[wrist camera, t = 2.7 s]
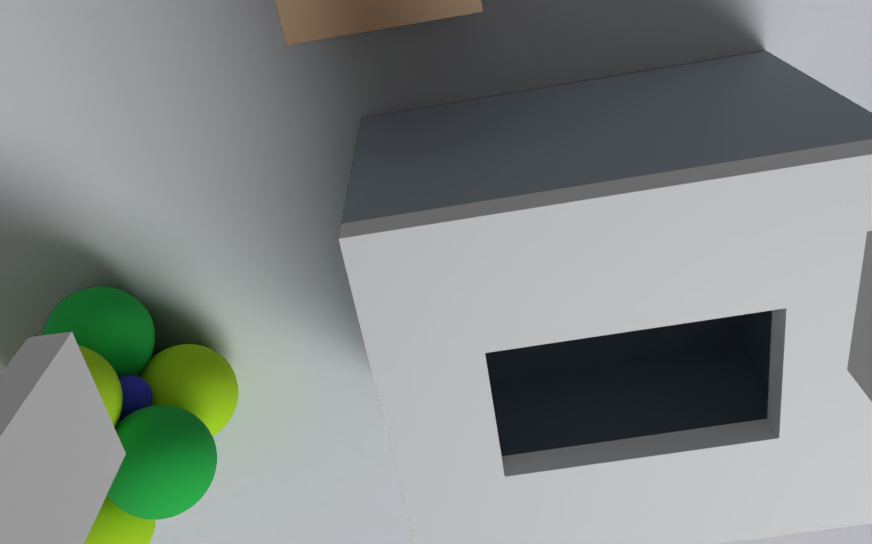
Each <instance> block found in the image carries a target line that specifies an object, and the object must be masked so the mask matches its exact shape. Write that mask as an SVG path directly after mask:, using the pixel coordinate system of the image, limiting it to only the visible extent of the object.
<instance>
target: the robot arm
mask: <svg viewBox="0 0 872 544" xmlns="http://www.w3.org/2000/svg"><path fill="white" fill-rule="evenodd" d="M847 370H848V372H849V373H850V374H851V376H852V377H853V378H854V380H855V381H856V382H857V383H858V385H859V386H860V387H861V389H862V390H863V391H864V393H865V394H866V395H867V396H868V398H869V399H870V400H871V402H872V231H867V237H866V243H865V250H864V257H863V264H862V271H861V277H860V284H859V291H858V298H857V305H856V311H855V318H854V325H853V332H852V339H851V346H850V352H849V359H848V366H847ZM125 455H126V453H125V451H124V448H123V446H122V444H121V442H120V439H119V437H118V435H117V433H116V430H115V428H114V426H113V423H112V421H111V419H110V417H109V414H108V412H107V410H106V408H105V405H104V403H103V401H102V399H101V396H100V394H99V392H98V390H97V387H96V385H95V383H94V380H93V378H92V376H91V374H90V371H89V369H88V367H87V365H86V362H85V360H84V358H83V356H82V353H81V351H80V349H79V347H78V344H77V342H76V340H75V337H74V335H73V333H72V332H66V333H58V334H50V335H42V336H34V337H28V338H27V340H26V341H25V342H24V344H23V345H22V346H21V348H20V349H19V350H18V351H17V353H16V354H15V355H14V357H13V358H12V359H11V361H10V362H9V363H8V365H7V366H6V367H5V369H4V370H3V371H2V372H1V374H0V544H84V542H85V540H86V538H87V536H88V534H89V532H90V530H91V527H92V525H93V523H94V521H95V519H96V517H97V515H98V512H99V510H100V508H101V506H102V504H103V502H104V500H105V497H106V495H107V493H108V491H109V489H110V487H111V485H112V483H113V480H114V478H115V476H116V474H117V472H118V470H119V468H120V465H121V463H122V461H123V459H124V457H125Z"/></svg>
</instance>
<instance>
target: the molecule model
mask: <svg viewBox="0 0 872 544" xmlns="http://www.w3.org/2000/svg"><path fill="white" fill-rule="evenodd" d="M66 332H72V333H73V335H74V337H75V340H76V342H77V344H78V347H79V349H80V351H81V353H82V356H83V358H84V360H85V362H86V365H87V367H88V369H89V371H90V374H91V376H92V378H93V380H94V383H95V385H96V387H97V390H98V392H99V394H100V396H101V399H102V401H103V403H104V405H105V408H106V410H107V412H108V414H109V417H110V419H111V421H112V423H113V426H114V428H115V430H116V433H117V435H118V437H119V439H120V442H121V444H122V446H123V448H124V451H125V453H126V455H125V457H124V459H123V461H122V463H121V465H120V468H119V470H118V472H117V474H116V476H115V478H114V480H113V483H112V485H111V487H110V489H109V491H108V493H107V495H106V497H105V500H104V502H103V504H102V506H101V508H100V510H99V512H98V515H97V517H96V519H95V521H94V523H93V525H92V527H91V530H90V532H89V534H88V536H87V538H86V540H85V542H84V544H149V542H150V540H151V538H152V535H153V532H154V528H155V521H156V519H164V518H169V517H173V516H175V515H178V514H180V513H182V512H184V511H186V510H187V509H189V508H190V507H192V506H193V505H194V504H195V503H197V502H198V501H199V500H200V499H201V498H202V496H203V495H204V494H205V493H206V491H207V490H208V488H209V486H210V484H211V482H212V480H213V477H214V474H215V470H216V465H217V452H216V446H215V442H214V439H213V437H212V436H213V435H215V434H216V433H218V432H219V431H220V430H221V429H222V428H223V427H224V426H225V425H226V424H227V423H228V421H229V420H230V418H231V417H232V415H233V413H234V410H235V408H236V404H237V400H238V384H237V380H236V376H235V374H234V371H233V369H232V368H231V366H230V365H229V363H228V362H227V361H226V360H225V359H224V358H223V357H222V356H221V355H220V354H218V353H217V352H216V351H214V350H212V349H210V348H207V347H205V346H201V345H196V344H181V345H176V346H172V347H169V348H167V349H165V350H163V351H161V352H159V353H158V354H156V355H155V356H154V357H152V358H151V359H150V357H151V355H152V353H153V349H154V345H155V329H154V324H153V321H152V318H151V316H150V314H149V312H148V311H147V309H146V308H145V306H144V305H143V304H142V303H141V302H140V301H139V300H138V299H136V298H135V297H134V296H132V295H131V294H129V293H127V292H125V291H123V290H120V289H117V288H112V287H105V286H97V287H89V288H85V289H82V290H79V291H76V292H74V293H72V294H70V295H69V296H67V297H66V298H64V299H63V300H62V301H61V302H60V303H59V304H58V305H57V306H56V307H55V308H54V309H53V311H52V312H51V314H50V315H49V317H48V319H47V322H46V324H45V327H44V332H43V335H50V334H58V333H66ZM139 373H140V374H139ZM138 374H139V376H137V375H138Z"/></svg>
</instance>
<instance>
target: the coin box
mask: <svg viewBox="0 0 872 544" xmlns="http://www.w3.org/2000/svg"><path fill="white" fill-rule="evenodd" d="M867 231H872V113H871V112H869V111H868V110H866V109H864V108H863V107H861V106H859V105H857V104H856V103H854V102H852V101H851V100H849V99H847V98H846V97H844V96H842V95H840V94H839V93H837V92H835V91H834V90H832V89H830V88H829V87H827V86H825V85H823V84H822V83H820V82H818V81H817V80H815V79H813V78H812V77H810V76H808V75H806V74H805V73H803V72H801V71H800V70H798V69H796V68H794V67H793V66H791V65H789V64H788V63H786V62H784V61H783V60H781V59H779V58H777V57H776V56H774V55H772V54H771V53H769V52H767V51H762V52H756V53H750V54H744V55H738V56H732V57H726V58H720V59H714V60H708V61H702V62H696V63H690V64H684V65H678V66H672V67H666V68H660V69H654V70H648V71H642V72H636V73H630V74H624V75H618V76H612V77H606V78H600V79H594V80H588V81H582V82H576V83H570V84H564V85H558V86H552V87H546V88H540V89H534V90H528V91H522V92H516V93H510V94H504V95H498V96H492V97H486V98H480V99H474V100H468V101H462V102H456V103H450V104H444V105H438V106H432V107H426V108H420V109H414V110H408V111H402V112H396V113H390V114H384V115H378V116H372V117H366V118H361V122H360V128H359V133H358V138H357V144H356V149H355V154H354V159H353V165H352V170H351V175H350V181H349V186H348V191H347V197H346V202H345V207H344V212H343V218H342V223H341V228H340V234H339V243H340V247H341V251H342V255H343V259H344V263H345V267H346V271H347V275H348V279H349V284H350V288H351V292H352V296H353V300H354V304H355V308H356V312H357V316H358V320H359V324H360V328H361V332H362V336H363V340H364V344H365V349H366V353H367V357H368V361H369V365H370V369H371V373H372V377H373V381H374V385H375V389H376V393H377V397H378V401H379V405H380V409H381V413H382V418H383V422H384V426H385V430H386V434H387V438H388V442H389V446H390V450H391V454H392V458H393V462H394V466H395V470H396V474H397V478H398V483H399V487H400V491H401V495H402V499H403V503H404V507H405V511H406V515H407V519H408V523H409V527H410V531H411V535H412V539H413V543H414V544H722V543H729V542H737V541H744V540H752V539H759V538H767V537H774V536H782V535H789V534H797V533H804V532H811V531H819V530H826V529H834V528H841V527H849V526H856V525H864V524H871V523H872V402H871V400H870V399H869V398H868V396H867V395H866V394H865V393H864V391H863V390H862V389H861V387H860V386H859V385H858V383H857V382H856V381H855V380H854V378H853V377H852V376H851V374H850V373H849V372H848V370H847V366H848V359H849V352H850V346H851V339H852V332H853V325H854V318H855V311H856V305H857V298H858V291H859V284H860V277H861V271H862V264H863V257H864V250H865V243H866V237H867Z"/></svg>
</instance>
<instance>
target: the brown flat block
mask: <svg viewBox="0 0 872 544" xmlns="http://www.w3.org/2000/svg"><path fill="white" fill-rule="evenodd" d="M275 3H276V7H277V11H278V15H279V19H280V23H281V27H282V31H283V35H284V39H285V43H286V46H288V45H294V44H299V43H305V42H311V41H317V40H323V39H328V38H334V37H340V36H346V35H352V34H357V33H363V32H369V31H375V30H380V29H386V28H392V27H398V26H404V25H409V24H415V23H421V22H427V21H433V20H438V19H444V18H450V17H456V16H462V15H467V14H473V13H479V12H483V9H482V1H481V0H275Z"/></svg>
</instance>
